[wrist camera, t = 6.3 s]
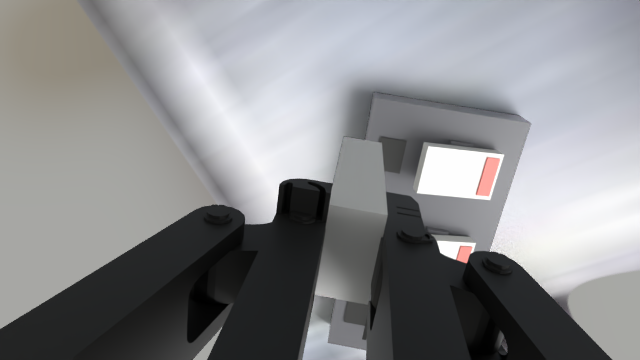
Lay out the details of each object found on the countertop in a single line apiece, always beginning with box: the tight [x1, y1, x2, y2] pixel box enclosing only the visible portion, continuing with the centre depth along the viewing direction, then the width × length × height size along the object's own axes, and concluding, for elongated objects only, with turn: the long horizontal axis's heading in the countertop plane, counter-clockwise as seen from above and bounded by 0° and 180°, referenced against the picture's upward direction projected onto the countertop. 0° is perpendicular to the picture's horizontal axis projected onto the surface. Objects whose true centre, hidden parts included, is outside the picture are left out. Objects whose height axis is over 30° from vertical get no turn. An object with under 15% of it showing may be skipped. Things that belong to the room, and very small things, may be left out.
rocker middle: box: [431, 234, 476, 263], centre depth 42 cm, size 4×7×1 cm, turn 82°
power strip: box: [328, 92, 531, 350], centre depth 45 cm, size 28×14×4 cm, turn 172°
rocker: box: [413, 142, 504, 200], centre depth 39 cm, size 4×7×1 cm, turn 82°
